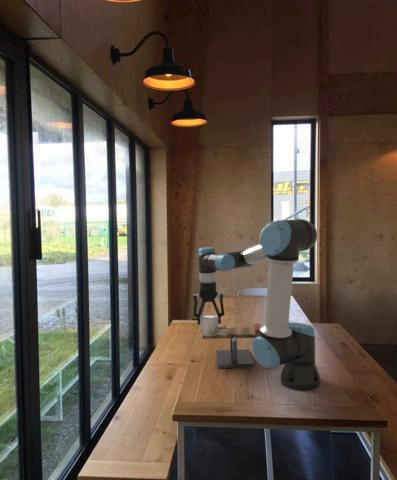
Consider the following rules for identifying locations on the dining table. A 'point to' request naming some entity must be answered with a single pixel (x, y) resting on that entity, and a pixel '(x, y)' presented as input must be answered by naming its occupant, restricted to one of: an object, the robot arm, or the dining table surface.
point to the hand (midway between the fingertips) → (209, 330)
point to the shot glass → (209, 323)
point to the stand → (234, 357)
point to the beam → (233, 332)
